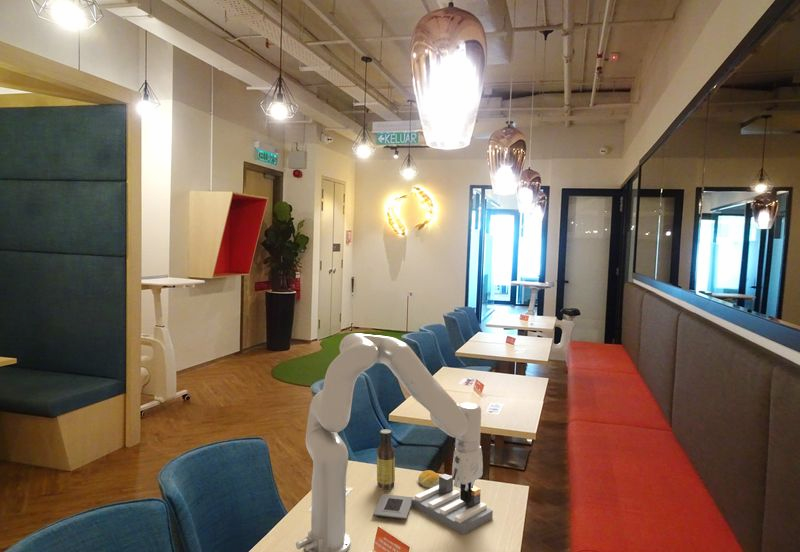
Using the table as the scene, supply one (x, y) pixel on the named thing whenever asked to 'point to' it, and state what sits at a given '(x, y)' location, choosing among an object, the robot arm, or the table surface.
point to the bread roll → (429, 479)
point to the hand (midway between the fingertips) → (465, 500)
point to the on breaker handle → (445, 484)
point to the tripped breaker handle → (474, 497)
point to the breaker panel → (451, 509)
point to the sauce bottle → (385, 461)
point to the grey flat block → (393, 506)
